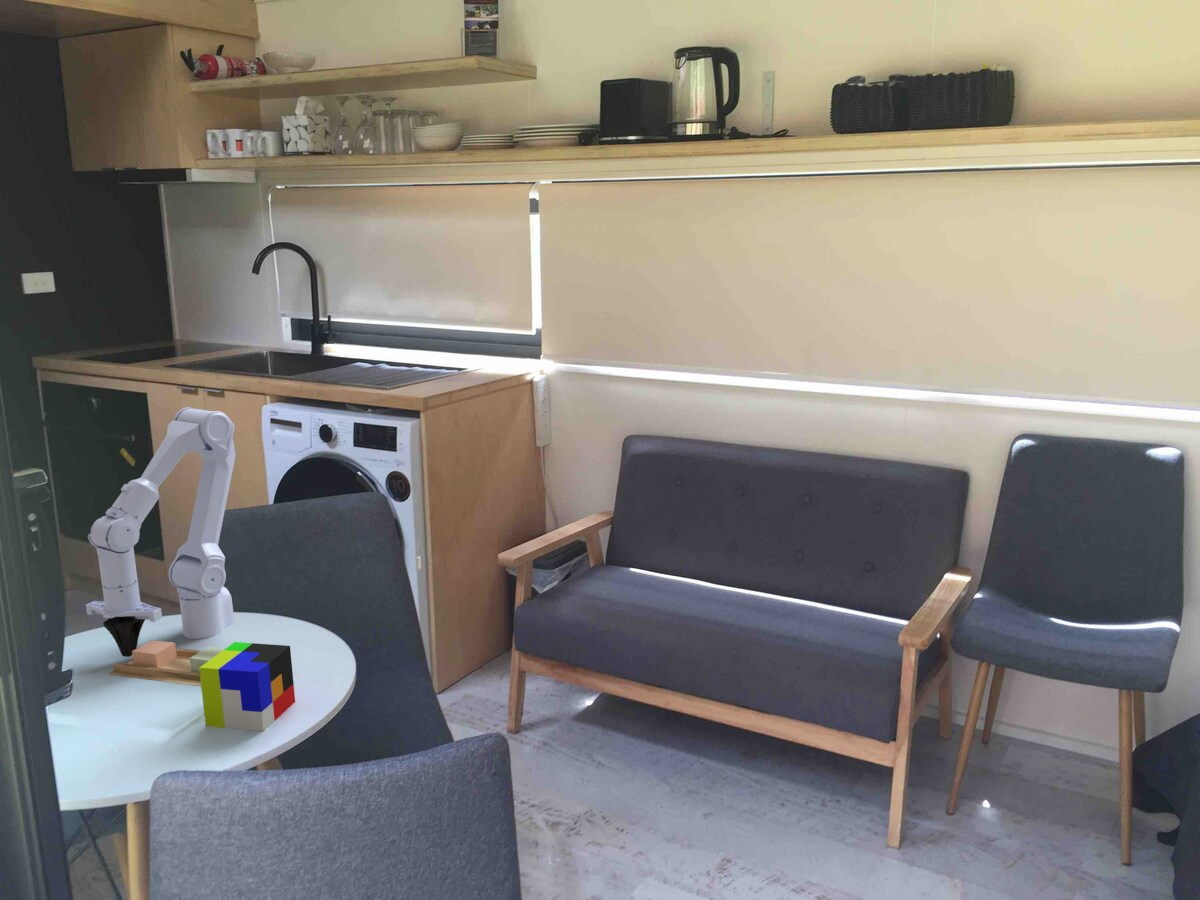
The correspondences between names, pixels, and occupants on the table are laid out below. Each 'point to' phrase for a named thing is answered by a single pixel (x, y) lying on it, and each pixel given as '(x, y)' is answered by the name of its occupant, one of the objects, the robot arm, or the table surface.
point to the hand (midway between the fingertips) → (129, 654)
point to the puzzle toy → (247, 686)
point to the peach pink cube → (154, 654)
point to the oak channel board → (171, 667)
